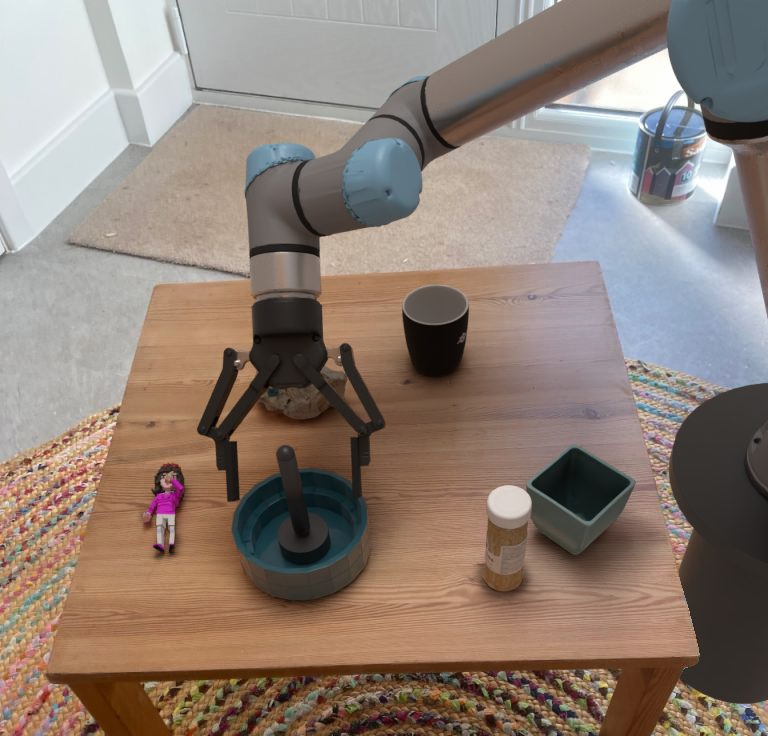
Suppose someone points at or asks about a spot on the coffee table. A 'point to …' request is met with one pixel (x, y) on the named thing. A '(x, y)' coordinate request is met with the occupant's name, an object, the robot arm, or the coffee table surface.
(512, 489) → the spice jar
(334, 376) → the rock
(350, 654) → the coffee table surface
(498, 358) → the coffee table surface
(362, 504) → the bowl
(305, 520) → the peg on disc base
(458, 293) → the mug
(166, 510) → the character figurine
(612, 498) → the flower pot
